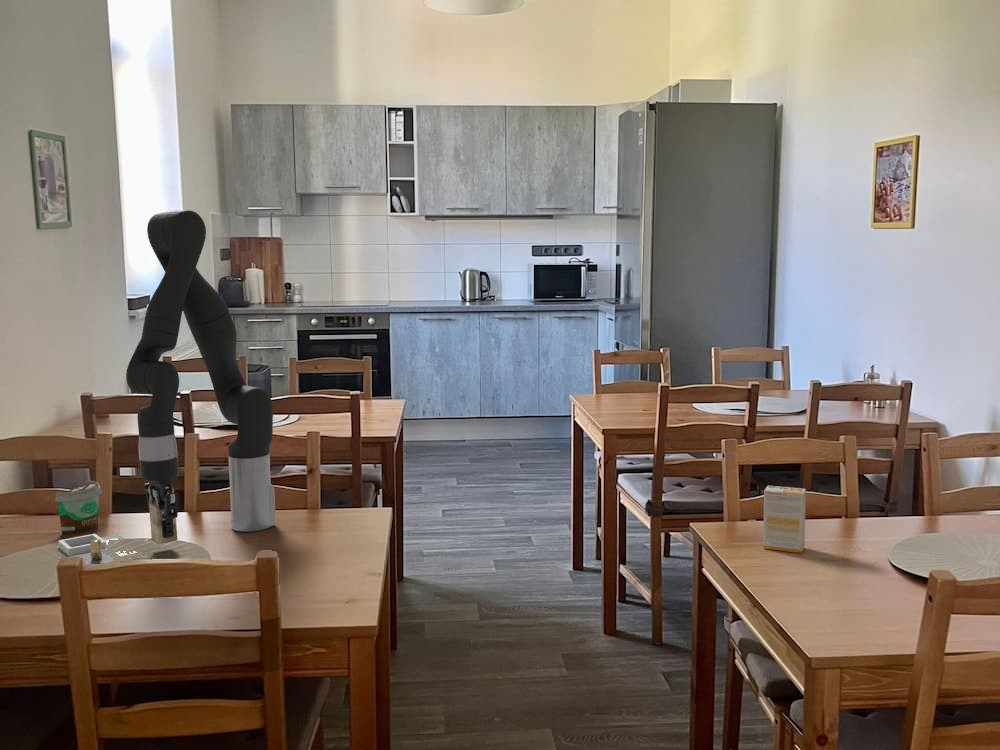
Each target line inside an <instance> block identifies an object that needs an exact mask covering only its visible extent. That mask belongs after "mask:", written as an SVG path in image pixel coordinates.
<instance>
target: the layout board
mask: <svg viewBox="0 0 1000 750" xmlns="http://www.w3.org/2000/svg"><path fill="white" fill-rule="evenodd" d="M95 539H100V540H101V549H105V548H106V545H109V544H108V542H109V540H118V539H125V538H124V537H123V536H121V535H119V534H114V535H108V536H102V537H100V536H99V535H97V534H96V533H92V534H85V535H81V536H74V537H70V538H66V539H59V540H57V542H58V545H56V546H55V548H57V549H58V550H59V551H60V552H61V553H63V554H64V555H65V556H66V557H67V558H68V557H71V556H80V557H83V558H84V559H85V558H86V560H85V563H86V564H101V563H109V562H112V561H114V560H113V558H114V557H111V556H110V555H105V553H103V552H102V560H99V561H92V560H91V545H90V541H91V540H95ZM106 550H107V549H106ZM106 550H102V551H106ZM123 552H124V553H120V551H118V552H115V553H116V554H117V555H118V556H120V557H122V556H126V555H128V554H127V553H125V552H126V551H123ZM119 553H120V554H119ZM129 553H130V554H135V553H137V552H136V551H133V553H131V552H129ZM130 554H129V555H130ZM146 555H147V554H146ZM146 555H145V556H142V555H141V556H142V557H144V558H148V557H149V555H148V556H146ZM138 558H139V557H138ZM129 559H132V558H129Z"/></svg>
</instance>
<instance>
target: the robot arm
mask: <svg viewBox="0 0 1000 750" xmlns="http://www.w3.org/2000/svg"><path fill="white" fill-rule="evenodd" d="M147 223H148V224H147V227H146V228H147V229H146V231H147V233H146V234H147V239H148V241H149V243H150V246H151V248H152V251H153V252H154V254H155V256H156V257H157V260H158V262H159V263H160V265H161V267H162V268H163V270H164V274H163V277H162V279H161V281H160V282H159V284H158V286H157V287H156V289H155V290H154V293H153V294H152V296H151V298H150V300H149V302H148V305H147V308H146V312H145V314H144V315H145V316H144V320H143V327H142V332H141V337H140V339H139V342H138V344H137V345H136V347H135V349H134V351H133V354H132V356H131V358H130V360H129V362H128V365H127V368H126V373H125V376H126V379H125V380H126V383H127V386H128V388H129V390H131V391H132V392H133V393H134V394H139V395H150V396H151V401H150V403H149V404H148V405H146V406H143V407H141V408H139V410H137V411H138V412H137V429H138V430H137V431H138V446H137V448H138V458H139V462H138V463H139V472H140V473H139V474H140V479H141V480H142V481H146V482H147V483H144V484H143V488H144V494H145V498H146V499H145V500H146V504H147V509H148V511H149V503H151V504H152V503H155V502H156V507H157V508H158V510H160V516H161V520H162V521H161V523H162V536H163V537H164V538H168V537H172V536H174V528H173V519H174V518H176V519H177V518H178V514H179V512H178V511H179V499H180V495H179V492H175V489H174V486H173V484H172V479H174V478H177V477H178V476H179V460H178V457H179V456H178V447H177V445H178V444H177V440H176V439H177V438H176V435H175V434H176V433H175V421H174V419H175V418H174V411H175V406H176V401H177V396H178V393H179V387H180V376H179V373H178V370H177V368H176V366H175V365H174V364H172V363H171V362H169V361H163V360H160V359H161V357H162V355H163V354H164V353H168V352H171V351H173V350H174V349H175V348H176V347H177V342H178V339H179V332H180V328H181V321H182V315H183V314H184V318H185V319H186V322H187V325H188V327H189V330H190V333H191V335H192V337H193V339H194V341H195V344H196V346H197V348H198V351H199V354H200V355H201V358H202V361H203V362H204V365H205V368H206V369H207V372H208V375H209V378H210V380H211V384H212V387H213V388H212V389H213V392H214V394H215V398H216V401H217V405H218V408H219V411H220V413H221V415H222V416H223V417H224V419H225V420H226V421H227V422H229V423H232V424H235V425H237V436H236V439H234V440H233V441H230V443H229V444H228V446H227V451H228V471H229V474H228V475H229V477H228V478H229V495H230V496H229V497H230V516H231V517H230V523H231V529H232V530H234V531H236V532H247V533H248V532H259V531H263V530H267V529H269V528H271V527H272V526H273V527H274V526H276V523H277V522H276V521H277V520H276V497H275V493H276V492H275V486H274V485H273V484H272V483H271V481H272V480H271V459H270V455H271V454H270V447H271V444H272V441H273V427H274V424H273V422H274V419H273V418H274V411H273V409H274V408H273V401H272V398H271V396H270V394H269V393H268V391H267V390H266V389H263V388H262V387H258V386H251V385H248V384H247V383H246V381H245V380H244V377H243V375H242V373H241V371H240V368H239V365H238V362H237V357H236V356H237V355H236V353H237V339H238V336H237V330H236V326H235V323H234V320H233V318H232V315H231V313H230V310H229V308H228V305H227V304H226V301H225V300H224V299H223V297H222V296H221V294H220V293H219V292H218V291H217V290H216V288H214V287H213V286H212V284H210V283H209V282H208V281H207V280H206V279H205V277H204V276H203V275H202V274H201V273H200V271H199V270H198V268H197V266H198V263H199V260H200V256H201V254H202V251H203V248H204V245H205V242H206V236H207V228H206V224H205V221H204V219H203V218H202V217H201V215H200V214H199V213H197V212H195V211H194V210H191V209H179V210H177V209H176V210H170V211H163V212H159V213H156V214H153V215H152V216H151V217H150V219H149V220H148V222H147ZM161 504H165V505H164V506H162V505H161ZM169 510H170V513H169Z"/></svg>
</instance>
